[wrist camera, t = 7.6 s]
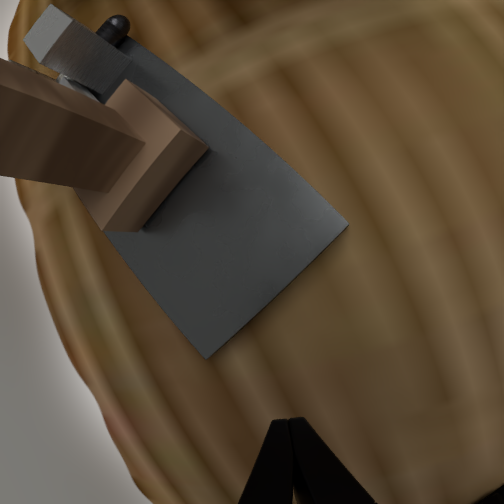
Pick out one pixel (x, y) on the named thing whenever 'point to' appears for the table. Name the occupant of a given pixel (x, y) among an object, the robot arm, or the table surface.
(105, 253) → the table surface
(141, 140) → the handle
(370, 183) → the table surface
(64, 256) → the table surface
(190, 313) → the base
